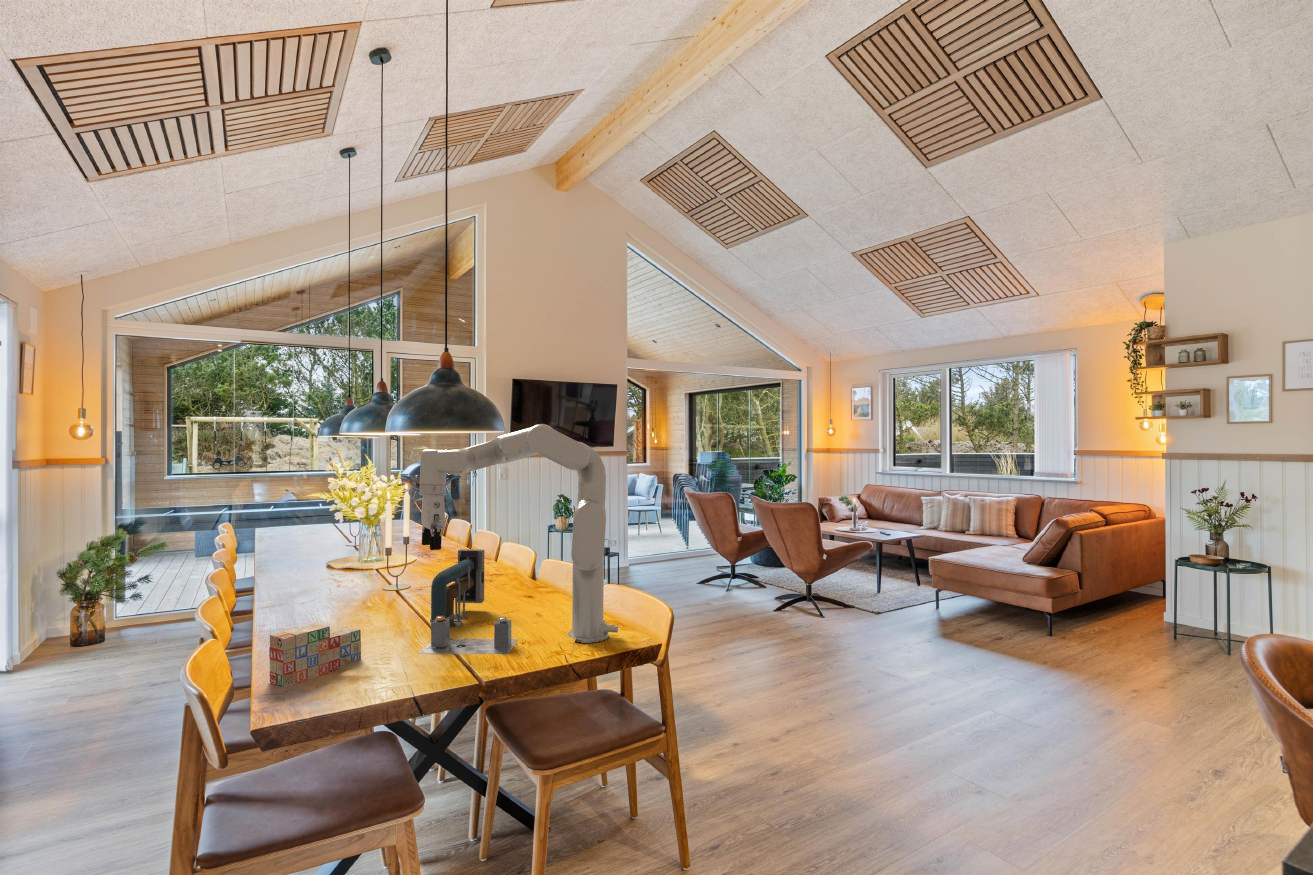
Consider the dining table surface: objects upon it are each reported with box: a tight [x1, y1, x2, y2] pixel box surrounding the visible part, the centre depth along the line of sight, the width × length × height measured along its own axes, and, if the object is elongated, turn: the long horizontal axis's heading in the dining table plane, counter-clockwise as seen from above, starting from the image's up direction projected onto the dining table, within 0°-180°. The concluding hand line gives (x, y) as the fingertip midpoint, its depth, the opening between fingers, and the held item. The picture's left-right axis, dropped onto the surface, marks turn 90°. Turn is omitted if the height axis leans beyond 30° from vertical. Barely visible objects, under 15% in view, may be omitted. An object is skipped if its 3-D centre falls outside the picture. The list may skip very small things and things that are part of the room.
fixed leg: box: [493, 616, 512, 648], centre depth 196 cm, size 4×4×8 cm
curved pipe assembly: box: [429, 548, 485, 628], centre depth 225 cm, size 35×9×21 cm, turn 175°
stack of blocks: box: [268, 622, 362, 688], centre depth 177 cm, size 21×6×12 cm, turn 148°
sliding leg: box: [430, 616, 451, 647], centre depth 196 cm, size 4×4×8 cm
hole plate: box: [417, 638, 519, 655], centre depth 196 cm, size 25×14×1 cm, turn 90°
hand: (431, 547), depth 205 cm, fingers open, 9 cm apart
